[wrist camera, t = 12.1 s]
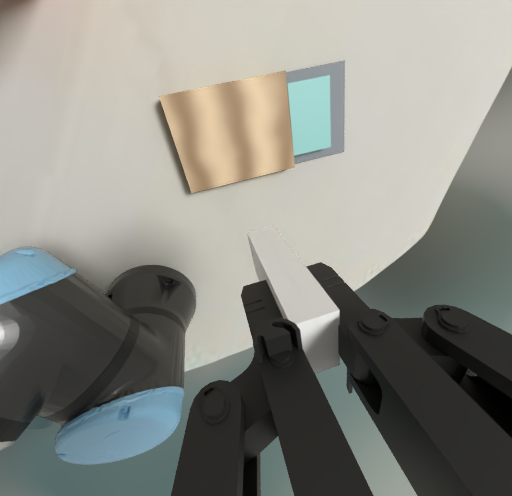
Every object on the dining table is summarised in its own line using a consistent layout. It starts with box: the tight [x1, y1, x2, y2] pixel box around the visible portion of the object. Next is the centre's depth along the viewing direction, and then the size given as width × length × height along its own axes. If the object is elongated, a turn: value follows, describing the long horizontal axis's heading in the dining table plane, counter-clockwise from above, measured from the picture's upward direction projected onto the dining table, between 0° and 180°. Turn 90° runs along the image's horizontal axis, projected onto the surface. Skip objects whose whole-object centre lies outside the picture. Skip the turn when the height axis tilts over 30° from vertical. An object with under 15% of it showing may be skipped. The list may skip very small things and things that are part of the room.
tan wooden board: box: [159, 71, 295, 193], centre depth 33 cm, size 16×12×2 cm
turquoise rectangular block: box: [287, 75, 331, 156], centre depth 34 cm, size 6×9×2 cm, turn 12°
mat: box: [286, 61, 345, 164], centre depth 35 cm, size 9×12×1 cm
